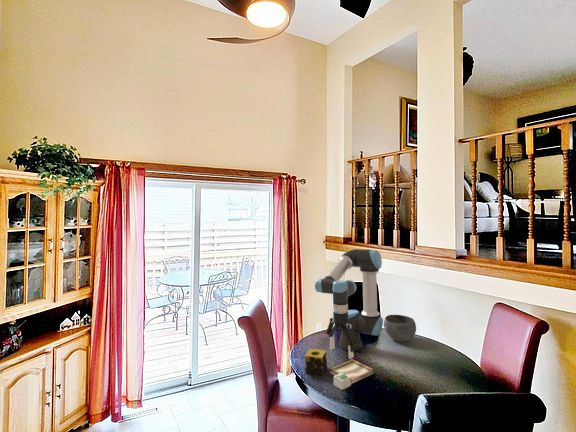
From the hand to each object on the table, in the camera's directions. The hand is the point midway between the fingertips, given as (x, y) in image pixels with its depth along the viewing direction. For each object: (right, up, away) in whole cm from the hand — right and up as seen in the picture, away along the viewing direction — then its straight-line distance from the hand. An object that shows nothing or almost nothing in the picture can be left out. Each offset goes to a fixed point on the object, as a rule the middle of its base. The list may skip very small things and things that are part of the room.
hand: (341, 353), depth 164 cm
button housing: (0, -17, 0) cm, 17 cm away
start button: (0, -15, 0) cm, 15 cm away
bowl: (+50, -15, +56) cm, 77 cm away
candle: (-11, -17, +16) cm, 26 cm away
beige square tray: (+7, -16, +12) cm, 22 cm away
